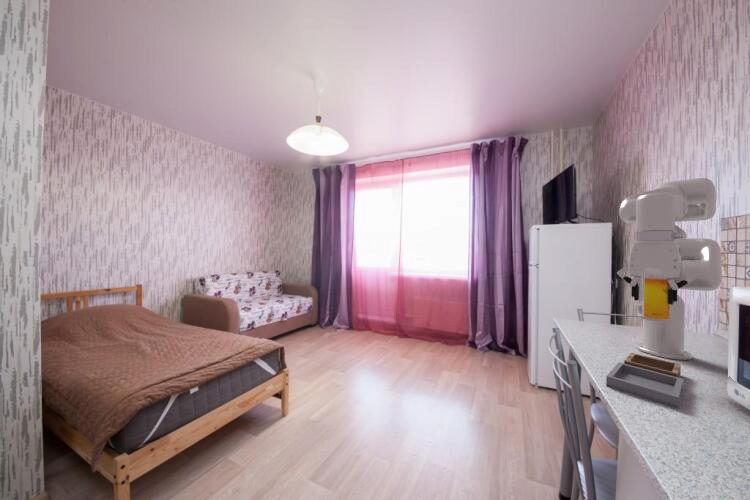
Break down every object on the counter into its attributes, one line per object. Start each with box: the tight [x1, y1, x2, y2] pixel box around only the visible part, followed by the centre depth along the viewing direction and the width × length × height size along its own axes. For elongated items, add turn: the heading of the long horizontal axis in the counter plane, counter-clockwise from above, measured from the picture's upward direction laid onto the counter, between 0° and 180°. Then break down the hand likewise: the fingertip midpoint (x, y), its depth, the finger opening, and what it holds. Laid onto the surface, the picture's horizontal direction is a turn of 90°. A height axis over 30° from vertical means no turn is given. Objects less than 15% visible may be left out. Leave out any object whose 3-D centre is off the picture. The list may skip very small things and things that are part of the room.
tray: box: [605, 361, 684, 410], centre depth 66 cm, size 14×12×2 cm
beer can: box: [637, 266, 670, 322], centre depth 75 cm, size 6×6×15 cm
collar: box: [623, 352, 682, 378], centre depth 74 cm, size 10×10×3 cm
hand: (653, 301), depth 75 cm, fingers closed on beer can, 6 cm apart
